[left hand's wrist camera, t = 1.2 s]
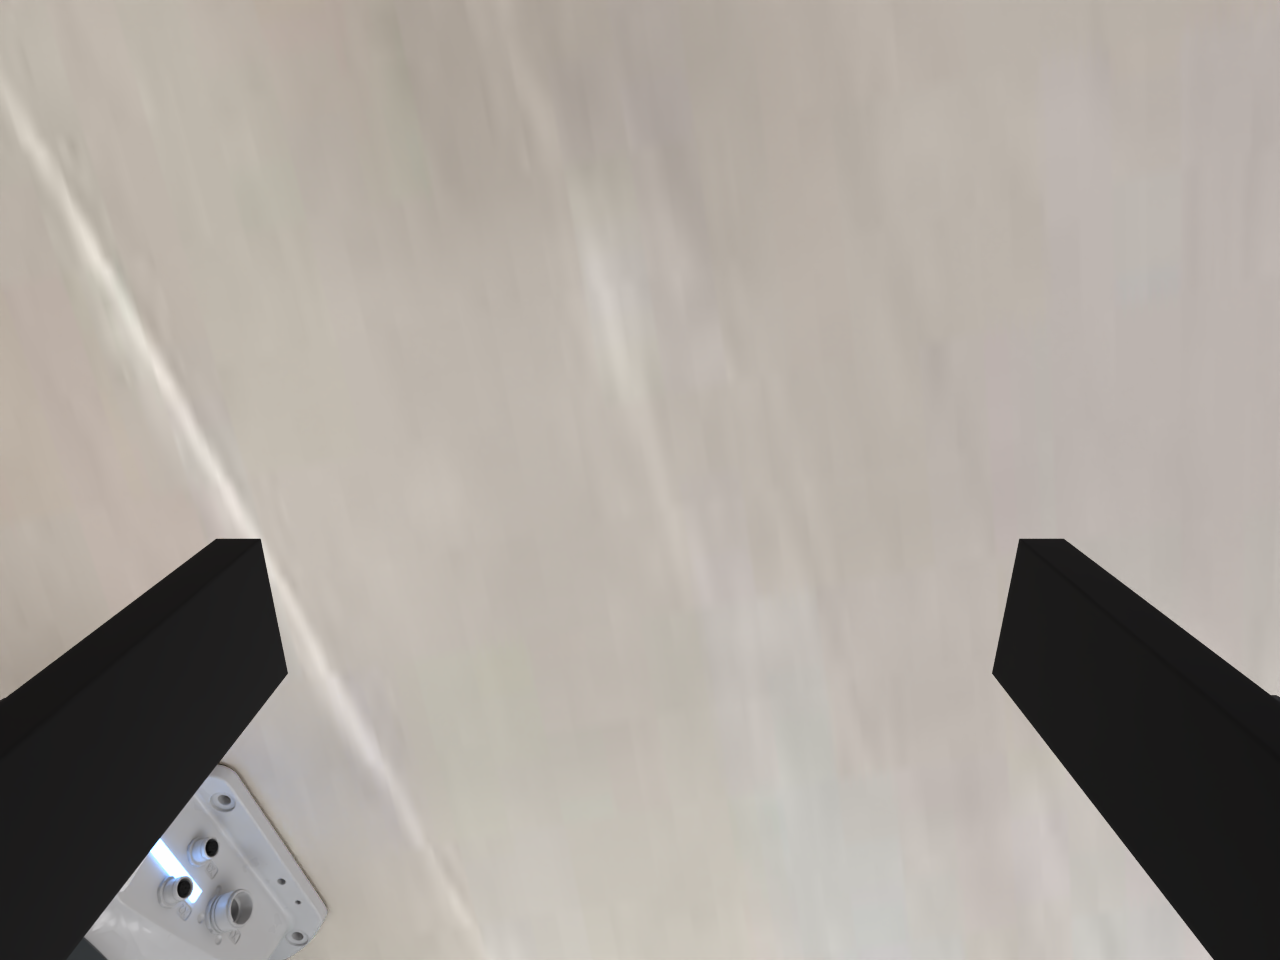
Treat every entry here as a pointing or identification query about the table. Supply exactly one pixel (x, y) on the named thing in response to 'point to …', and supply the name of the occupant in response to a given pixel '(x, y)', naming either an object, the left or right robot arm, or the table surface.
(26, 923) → the left robot arm
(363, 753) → the table surface
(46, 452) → the table surface
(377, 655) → the table surface
